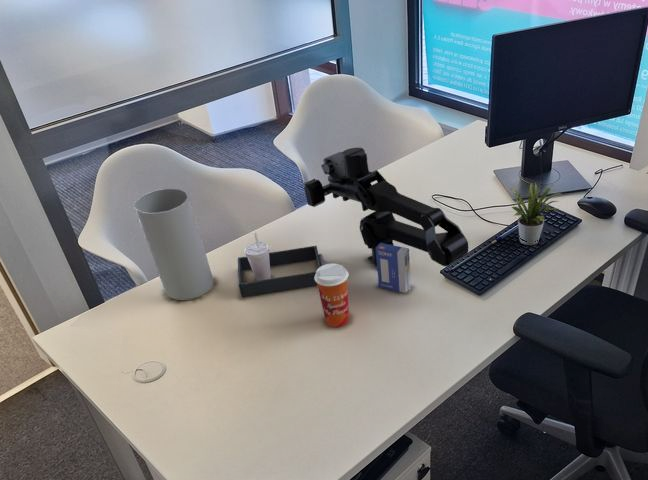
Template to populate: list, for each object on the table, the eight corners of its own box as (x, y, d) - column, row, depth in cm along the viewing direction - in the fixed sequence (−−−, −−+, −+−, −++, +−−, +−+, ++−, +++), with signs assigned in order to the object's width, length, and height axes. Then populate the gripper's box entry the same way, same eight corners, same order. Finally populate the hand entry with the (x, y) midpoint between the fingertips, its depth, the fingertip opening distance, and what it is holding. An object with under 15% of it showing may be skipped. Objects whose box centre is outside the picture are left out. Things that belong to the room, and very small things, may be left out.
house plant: (569, 248, 168) (577, 193, 157) (524, 260, 164) (530, 204, 153) (541, 224, 178) (547, 171, 167) (498, 235, 174) (502, 181, 164)
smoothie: (273, 286, 160) (263, 239, 151) (249, 287, 160) (237, 240, 151) (277, 272, 165) (268, 226, 156) (254, 273, 165) (243, 227, 156)
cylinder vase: (222, 277, 164) (198, 190, 148) (199, 304, 155) (170, 215, 139) (181, 271, 167) (153, 186, 151) (156, 298, 158) (122, 210, 142)
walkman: (378, 287, 158) (375, 247, 150) (383, 281, 160) (380, 241, 152) (406, 293, 155) (404, 252, 147) (411, 287, 157) (409, 247, 149)
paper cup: (324, 333, 145) (316, 284, 135) (319, 314, 150) (311, 265, 141) (357, 326, 146) (351, 277, 137) (350, 307, 152) (344, 259, 142)
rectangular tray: (322, 257, 170) (320, 244, 167) (328, 283, 160) (326, 271, 157) (240, 270, 167) (237, 257, 164) (242, 298, 157) (238, 285, 154)
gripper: (373, 146, 161) (336, 138, 170) (318, 170, 151) (282, 161, 161) (380, 187, 167) (343, 177, 177) (327, 212, 158) (292, 201, 167)
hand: (316, 178), depth 170 cm, fingers open, 9 cm apart
